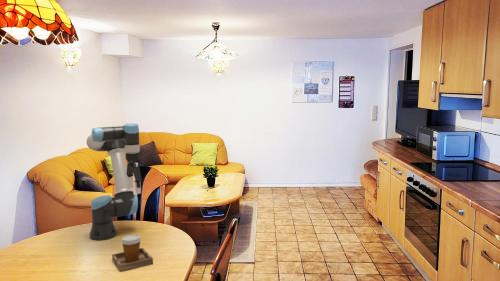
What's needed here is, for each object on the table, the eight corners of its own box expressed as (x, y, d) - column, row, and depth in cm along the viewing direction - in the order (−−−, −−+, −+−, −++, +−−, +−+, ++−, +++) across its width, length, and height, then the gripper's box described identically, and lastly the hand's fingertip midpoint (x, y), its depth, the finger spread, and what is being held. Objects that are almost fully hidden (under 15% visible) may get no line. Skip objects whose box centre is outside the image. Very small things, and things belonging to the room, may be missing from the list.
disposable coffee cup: (136, 265, 199) (135, 241, 197) (118, 263, 201) (117, 240, 199) (145, 257, 208) (144, 234, 207) (128, 255, 210) (127, 233, 209)
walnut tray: (112, 260, 207) (112, 254, 206) (143, 253, 215) (142, 247, 215) (120, 272, 193) (120, 266, 193) (153, 264, 202) (152, 258, 201)
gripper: (119, 150, 226) (121, 187, 228) (132, 156, 205) (134, 197, 207) (132, 148, 229) (134, 185, 232) (146, 154, 208) (148, 194, 211)
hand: (134, 190), depth 220 cm, fingers open, 13 cm apart
